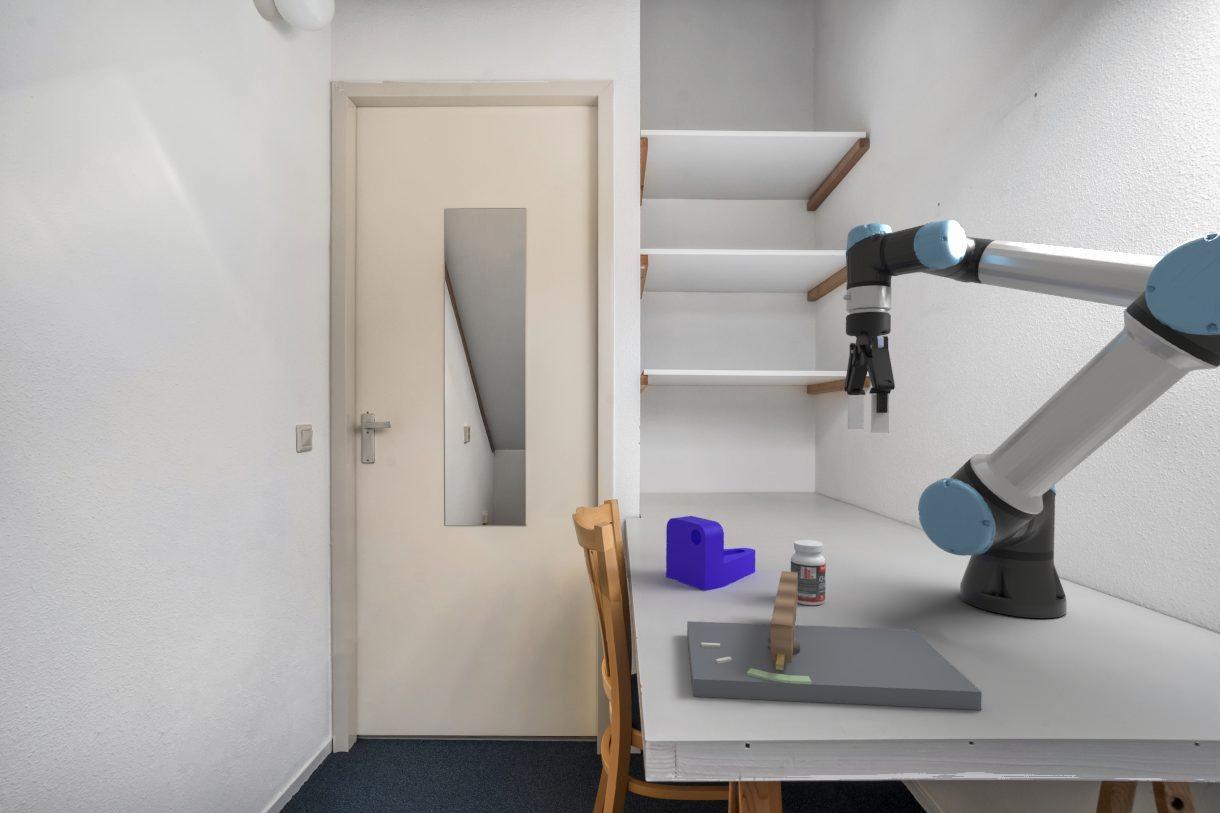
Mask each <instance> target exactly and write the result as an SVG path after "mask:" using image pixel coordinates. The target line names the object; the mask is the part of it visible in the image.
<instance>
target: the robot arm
mask: <svg viewBox="0 0 1220 813" xmlns="http://www.w3.org/2000/svg"><path fill="white" fill-rule="evenodd" d="M960 225H961V224H959V222H957V221H956V220H953V219H946V220H941V221H931V222H927V223H925V224H922V225H917V226H913V227H909V228H905V229H901V230H897V231H893V232H892V227H891V226H890V225H889V224H886V223H882V222H881V223H878V222H877V223H876V222H875V223H869V224H860V225H858V226H855V227H852V229H850V231H849V230H848V231H849V232H848V234H847V238H846V239H847V240H846V250H845V260H846V263H845V265H846V289H845V290H846V291H845V292H846V293H845V294H844V295H843V297H842V299H843V300H844V301H846V302H845V304H846V305H845V306H846V307H845V311H846V312H847V313H848V314H847V315H846V316H845V334H846V335H847V336H850V337H855V339H856V340H855V342H850V343H849V356H848V362H847V369H846V375H845V381H844V388H843V390H844V392H846V393H847V430H864V425H865V424H864V417H865V414H864V411H865V408H864V405H865V404H864V401H865V398H864V396H865V395H866V391H865V389H864V386H865V383H866V379H867V375H868V376H869V381H870V384H871V387H870V390H869V392H868V393H869V395H870V399H871V400H870V433H881V434H882V433H883V434H884V433H888V434H889V432H890V430H889V429H890V427H889V426H890V394H891V391H892V390H893V391H894V390H895V388H896V385H895V380H894V373H893V367H892V361H891V355H890V350H889V337H888V336H887V335H889V334H890V333H891V330H892V328H891V325H892V322H891V318H892V315H891V314H890V313H889V311H891V310H892V277H898V276H901V275H903V276H904V275H908V274H916V273H924V274H928V275H932V276H936V277H941V278H946V279H951V280H954V281H956V282H962V283H972V284H973V283H974V284H979V285H980V284H981V285H988V286H992V287H993V286H995V287H1000V288H1005V289H1010V290H1011V289H1012V290H1017V291H1024V292H1030V293H1031V292H1032V293H1036V294H1037V293H1038V294H1042V295H1043V294H1044V295H1048V296H1055V297H1061V298H1066V299H1073V300H1079V301H1080V300H1081V301H1086V302H1091V303H1098V304H1104V305H1108V306H1109V305H1110V306H1115V307H1122V308H1125V309H1124V310H1123V322H1124V325H1123V329H1121V331H1120V332H1119V333H1118V334H1116V335H1115V336H1114V338H1112V339H1111V340H1110V341H1109V342H1108V343H1107V344H1106V345H1105V346H1104V347H1103V348H1102V349H1101V350H1100V351H1099V352H1097V353H1096V354H1095V355H1094V356H1093V357H1092V358H1091V359H1090V360H1089V361H1088V362H1087V363H1085V364H1084V365H1083V366H1082V368H1081V369H1079V370H1078V371H1077V372H1076V373H1075V374H1074V375H1073V376H1071V378H1070V379H1069V380H1068V381H1066V382H1065V383H1064V384H1063V386H1062V387H1060V388H1059V389H1058V390H1057V391H1056V392H1054V394H1053V395H1052V396H1051V397H1049V399H1047V400H1046V401H1045V402H1044V403H1043V404H1042V405H1041V406H1040V407H1039V408H1038V409H1037V410H1036V411H1035V412H1034V413H1032V415H1030V417H1028V418H1027V419H1026V420H1025V421H1024V422H1023V423H1022V424H1021V425H1020V426H1019V427H1018V428H1016V430H1015V431H1014V432H1012V433H1011V435H1009V436H1008V437H1007V438H1006V439H1005V440H1004V441H1003V442H1002V443H1001V444H1000V445H998V446H997V447H996V448H995V450H993V451H992V452H991V453H976V454H974V455H972V456H971V457H970V458H969V459H968V460H967V461H966V462H965V463H964V464H963V465H962V466H961V467H959V469H958V470H956V472H954V473H953V475H951V476H950V477H946V478H941V479H937V480H936V481H934V482H933V483H931V484H929V485H927V487H926V488H925V489H924V490H923V491H922V493H921V494H920V497H919V501H918V506H917V508H918V509H917V510H918V516H919V517H918V519H919V520H918V521H919V523H920V525H921V528H922V530H923V532H924V533H925V535H926V537H927V538H928V539H929V540H930V541H931V542H932V543H933V544H934V545H935V546H937V548H939V549H941V550H943V551H944V552H946V553H949V554H952V555H955V556H964V557H965V556H970V558H969V561H968V562H967V566H966V569H965V571H964V574H963V575H962V579H961V580H960V583H959V584H960V585H959V597H960V599H961V600H962V601H963V602H965V603H967V604H969V605H971V606H973V607H976V608H978V609H982V610H984V611H985V610H986V611H988V612H993V613H996V614H1001V615H1006V616H1013V617H1021V618H1029V619H1030V618H1031V619H1051V618H1052V619H1053V618H1060V617H1062V616H1064V615H1066V614H1067V610H1068V609H1067V608H1068V607H1067V606H1068V605H1067V604H1068V602H1067V600H1068V599H1067V596H1066V593H1065V591H1064V587H1063V585H1062V582H1061V579H1060V576H1059V574H1058V571H1057V568H1056V565H1055V524H1056V523H1055V520H1056V518H1055V516H1056V513H1055V512H1056V496H1057V490H1056V489H1055V485H1056V484H1057V483H1059V482H1060V481H1061V480H1062V479H1063V478H1065V477H1066V476H1067V475H1068V474H1069V473H1071V472H1072V471H1073V470H1074V469H1076V468H1077V466H1079V465H1081V463H1083V462H1084V461H1085V460H1086V459H1087V458H1089V456H1091V455H1092V454H1093V453H1094V452H1096V450H1099V448H1100V447H1102V446H1103V445H1104V444H1105V443H1106V442H1108V441H1109V440H1110V439H1111V438H1112V437H1114V436H1115V435H1116V434H1117V433H1119V432H1120V430H1122V429H1123V428H1124V427H1125V426H1127V425H1128V424H1129V423H1130V422H1132V421H1133V420H1134V419H1135V418H1136V417H1138V416H1139V415H1140V414H1141V413H1143V411H1145V410H1146V409H1147V408H1148V407H1149V406H1150V405H1152V404H1153V403H1154V402H1156V401H1157V400H1158V399H1159V398H1160V397H1161V396H1163V395H1164V394H1165V393H1167V391H1169V390H1170V389H1171V388H1172V387H1173V386H1175V385H1176V384H1177V383H1178V382H1180V381H1181V380H1182V379H1183V378H1184V377H1185V376H1187V374H1189V373H1190V372H1194V371H1199V370H1210V369H1211V370H1212V369H1217V368H1218V367H1220V232H1214V233H1208V234H1203V235H1200V236H1197V237H1193V238H1191V239H1189V240H1186V241H1184V242H1182V243H1181V244H1178V245H1177V246H1174V248H1172V249H1170V251H1168V252H1167V253H1165V254H1164V255H1163V256H1153V255H1145V254H1144V255H1143V254H1133V253H1122V252H1114V251H1104V250H1095V249H1086V248H1085V249H1084V248H1075V247H1074V248H1073V247H1064V246H1054V245H1048V244H1047V245H1046V244H1036V243H1025V242H1016V241H1009V240H1007V241H1006V240H997V239H996V240H995V239H990V238H989V239H988V238H980V237H973V236H972V237H971V236H966V233H965V230H964V229H963V227H961V226H960Z"/></svg>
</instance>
